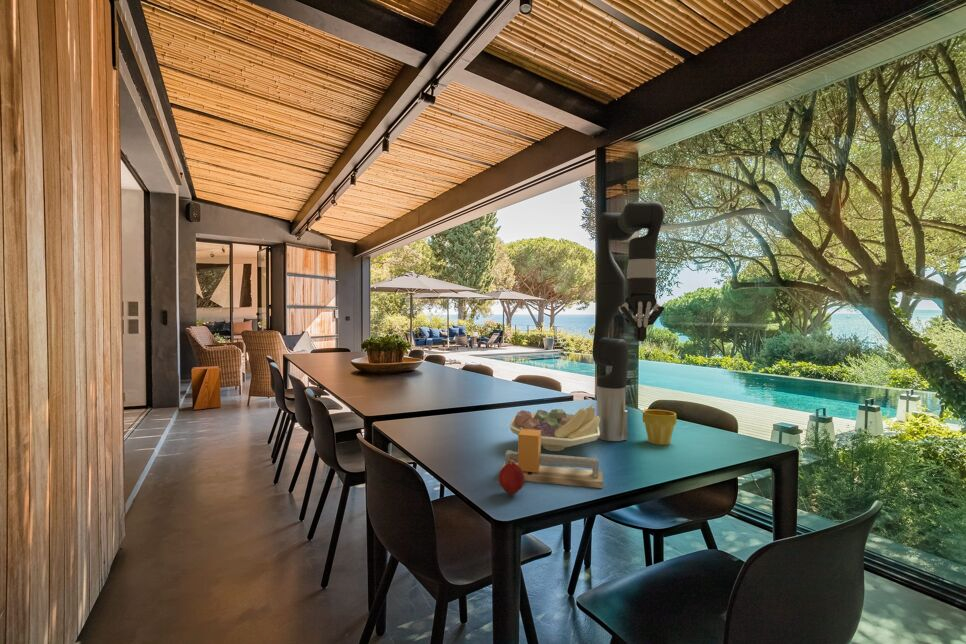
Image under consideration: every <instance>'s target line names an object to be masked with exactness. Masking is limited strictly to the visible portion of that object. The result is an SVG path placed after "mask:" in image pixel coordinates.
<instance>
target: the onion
mask: <svg viewBox="0 0 966 644" xmlns="http://www.w3.org/2000/svg"><path fill="white" fill-rule="evenodd" d="M508 462H509V463H508V464H507V465H505V466H504V467H503V466H502V467H503V468H502V467H501V468H502V469H500V470H501V471H500V470H499V472H500V473H499V472H498V484H499V485H500V488H502V489H503V491H505V493H507V494H508V495H509V496H514V495H515V494H516V493H518V492H519V491H520V490H521V489H523V487H524V485H525V481H524V480H525V479H524V474H523V471H522V469H521V468H520V467H519V466H518V465H517V464H515V463H516V462H514V461H513V460H509V461H508Z"/></svg>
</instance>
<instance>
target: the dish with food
mask: <svg viewBox="0 0 966 644" xmlns="http://www.w3.org/2000/svg"><path fill="white" fill-rule="evenodd" d="M595 414H596V408H595V407H594V405H593V404H591V405H590V406H589V407H587V408H585V407H583V408H580V409H579V410H578V411H577V412H576V413H575V414H573V413H570V414H569V413H566V412H565V410H564V409H562V408H555V409H551V410H550V412H549V411H547V410H541V409H537V411H536V412H531V411H527V410H525V409H523V410H522V409H521V410H520V411H517V413H516V415H515V416H513V418H512V421H511V422H510V424H509V426H508V427H509V429H510V431H511V432H512V433H513V434H515V435H517V436H518V434H519V433H520V431H521V429H531V430H541V446H542V448H543V449H545V450H547V451H549V452H550V451H553V452H561V451H564V450H565V448H570V447H573V446H574V447H575V446H578V445H581V444H586V443H590V442H593V441H594V442H595V441H597V440H598V439H599V438H598V437H599V435H600V432H599V426H598V425H599V422H600V418H599V416H595Z"/></svg>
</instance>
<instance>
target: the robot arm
mask: <svg viewBox="0 0 966 644" xmlns="http://www.w3.org/2000/svg"><path fill="white" fill-rule="evenodd" d="M665 211H666V210H665V208H664V206H663V205H662V203H660V202H659V201H631V202H628V203H627V204H626V205H625V207H624V208H623V211H622V212H603V213H601V214H600V215H599V218H598V223H597V247H598V248H597V249H598V250H597V256H598V257H597V258H598V259H597V261H598V262H597V263H598V264H597V265H598V267H597V276H596V277H597V278H596V311H595V325H594V332H593V340H592V360H593V361H594V363H595V364H596V365H598V366H605V367H606V366H607V367H611V369H610V372H609V373H608V374H605V375H601V376H598V377H597V380H596V411H595V414H596V416H599V418H600V422H599V425H598V426H599V432H600V435H599V437H598V438H597V439H598V440H603V441H608V442H620V441H625V440H628V414H629V413H628V410H626V387H627V386H626V385H627V384H626V383H627V380H628V366H629V365H628V364H629V356H630V355H629V353H630V352H629V351H630V350H629V346H628V342H627V341H626V340H625V339H622V338H611V337H610V338H609V332H610V327H611V324H612V322H613V320H614V318H615V316H617V314H618V312H619V313H620V315H621V316H622V318H623V319H624V321H625V322H626V324H627V325H629V326H633V329H634V330H633V331H634V332H633V337H634V339H635V341H636V342H645V340H646V339H647V328H648V327H649V326H652V325H654V324H655V323H656V321H657V320H658V319H659V317H660V316H661V314H662V313H663V312H664V310H665V307H664V306H661V305H660V304H658V303H657V298H656V294H657V274H658V273H657V270H658V269H657V245H658V244H657V243H658V239H659V234H660V231H661V229H662V228H661V227H662V225H663V222H664V218H665ZM644 229H645V230H646V229H647V232H646V233H645V235H642V236H636V237H634V238H632V236H633V235H634V234H635V233H636V232H639V231H641V230H644ZM629 239H630V240H629ZM627 240H629V243H628V261H627V269H626V271H627V272H626V277H625V276H624V274H623V271H622V270H621V268H620V266H619V264H617V261H616V260H615V259H614V256H613V254H612V251H611V248H610V241H611V242H612V241H613V242H623V241H627ZM629 310H630V312H631V313H630V312H629Z"/></svg>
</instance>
